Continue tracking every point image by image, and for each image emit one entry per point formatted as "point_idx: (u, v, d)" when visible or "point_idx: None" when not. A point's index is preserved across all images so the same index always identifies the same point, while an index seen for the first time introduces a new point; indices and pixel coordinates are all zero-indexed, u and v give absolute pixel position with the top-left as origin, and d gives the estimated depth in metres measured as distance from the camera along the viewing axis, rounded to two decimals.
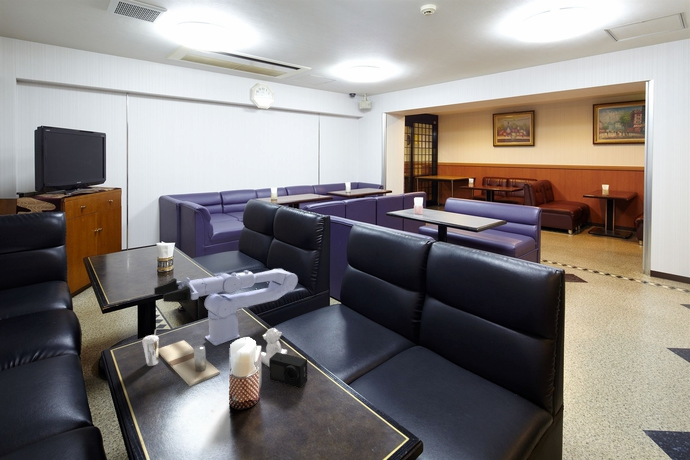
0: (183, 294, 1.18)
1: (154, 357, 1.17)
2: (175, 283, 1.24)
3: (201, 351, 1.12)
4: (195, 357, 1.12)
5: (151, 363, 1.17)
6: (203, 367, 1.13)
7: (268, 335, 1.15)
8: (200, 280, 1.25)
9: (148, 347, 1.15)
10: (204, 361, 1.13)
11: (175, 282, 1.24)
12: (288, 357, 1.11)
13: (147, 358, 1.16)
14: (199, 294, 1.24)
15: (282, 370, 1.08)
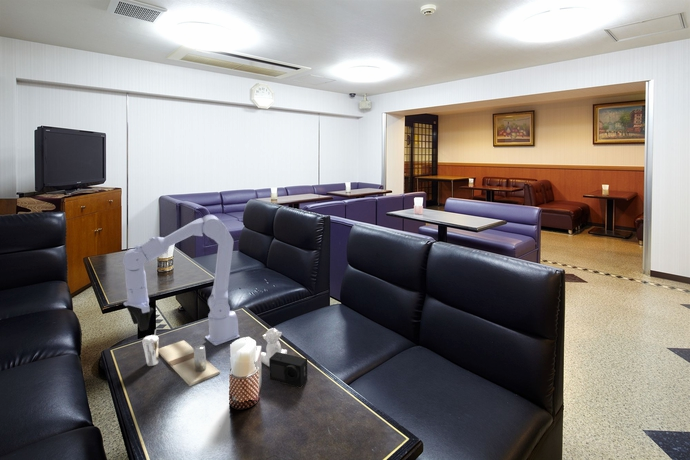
0: (141, 314, 1.18)
1: (154, 357, 1.17)
2: (130, 306, 1.22)
3: (201, 351, 1.12)
4: (195, 357, 1.12)
5: (151, 363, 1.17)
6: (203, 367, 1.13)
7: (268, 335, 1.15)
8: (128, 292, 1.17)
9: (148, 347, 1.15)
10: (204, 361, 1.13)
11: (129, 306, 1.22)
12: (288, 356, 1.11)
13: (147, 358, 1.16)
14: (144, 293, 1.19)
15: (282, 370, 1.09)
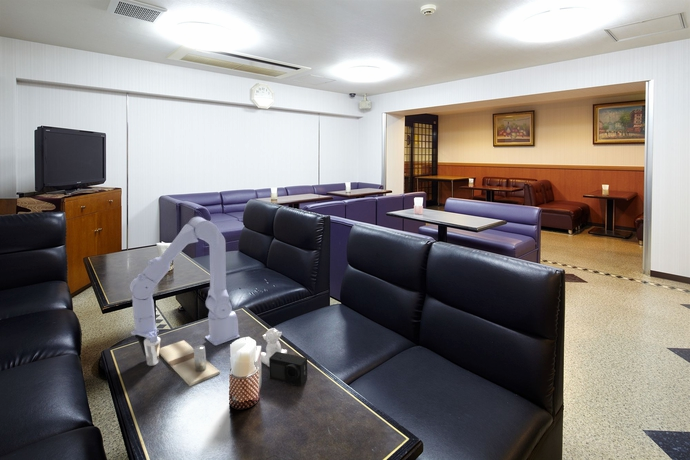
0: None
1: (155, 357, 1.16)
2: None
3: (201, 351, 1.12)
4: (195, 357, 1.12)
5: (151, 363, 1.16)
6: (203, 367, 1.13)
7: (268, 335, 1.15)
8: (136, 321, 1.15)
9: (150, 349, 1.14)
10: (204, 361, 1.13)
11: None
12: (288, 356, 1.11)
13: (148, 358, 1.16)
14: (152, 321, 1.17)
15: (282, 369, 1.09)
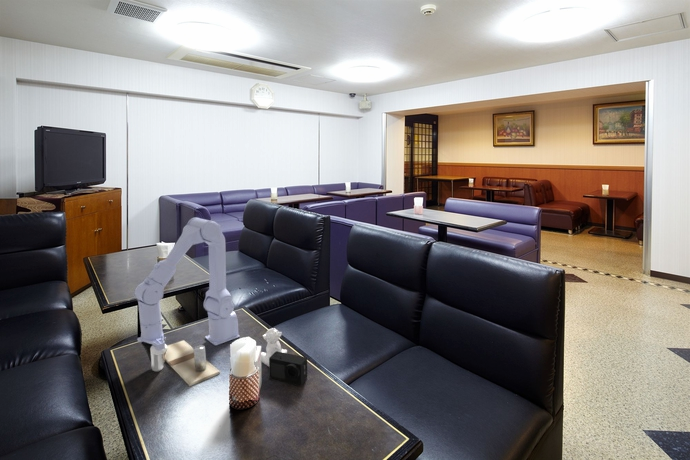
0: None
1: (160, 364, 1.13)
2: None
3: (201, 351, 1.12)
4: (195, 357, 1.12)
5: (156, 369, 1.13)
6: (203, 367, 1.13)
7: (268, 335, 1.15)
8: (142, 327, 1.11)
9: (156, 357, 1.10)
10: (204, 361, 1.13)
11: None
12: (288, 355, 1.11)
13: (153, 365, 1.12)
14: (159, 328, 1.13)
15: (282, 369, 1.09)
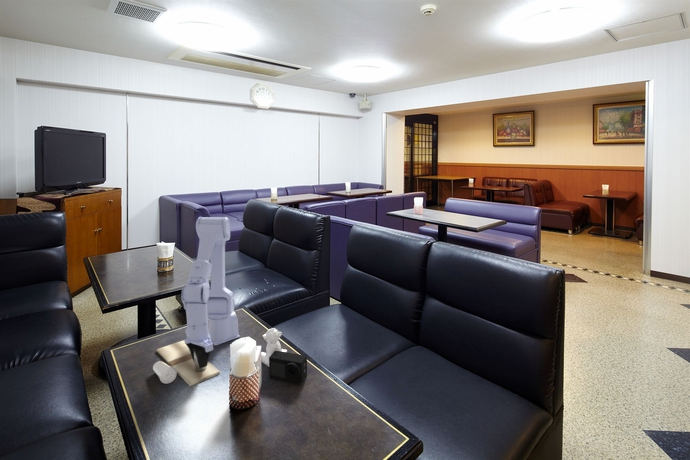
0: None
1: None
2: (191, 344, 1.13)
3: None
4: (195, 357, 1.12)
5: None
6: (203, 367, 1.13)
7: (268, 335, 1.15)
8: (189, 328, 1.09)
9: None
10: None
11: (190, 344, 1.13)
12: (287, 354, 1.12)
13: (156, 373, 1.11)
14: (206, 329, 1.11)
15: (282, 368, 1.10)
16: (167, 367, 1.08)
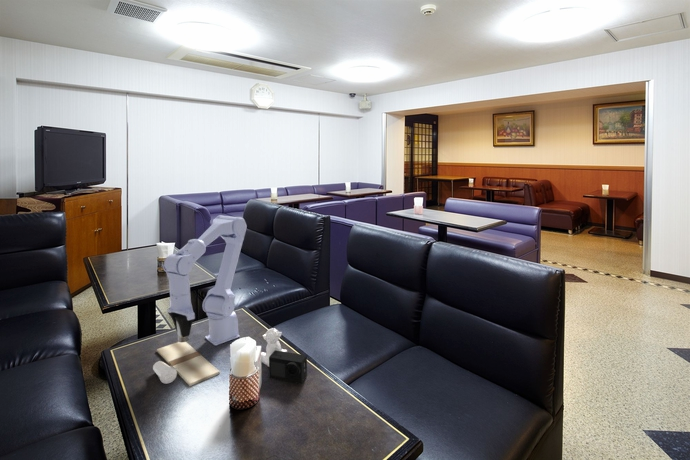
0: (184, 319, 1.15)
1: None
2: (174, 314, 1.17)
3: None
4: (177, 328, 1.16)
5: None
6: (185, 338, 1.17)
7: (268, 335, 1.15)
8: (172, 298, 1.13)
9: None
10: None
11: (173, 314, 1.17)
12: (287, 354, 1.12)
13: (156, 373, 1.11)
14: (188, 299, 1.15)
15: (282, 367, 1.10)
16: (167, 367, 1.08)
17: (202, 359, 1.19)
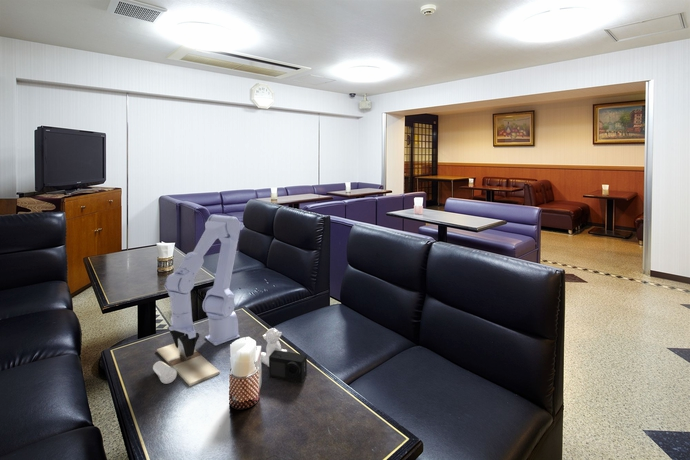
0: (187, 339, 1.15)
1: None
2: (173, 329, 1.20)
3: None
4: (179, 347, 1.18)
5: None
6: None
7: (268, 335, 1.15)
8: (173, 316, 1.14)
9: None
10: None
11: None
12: (287, 353, 1.12)
13: (156, 373, 1.11)
14: (189, 317, 1.16)
15: (282, 367, 1.10)
16: (167, 367, 1.08)
17: (202, 359, 1.19)
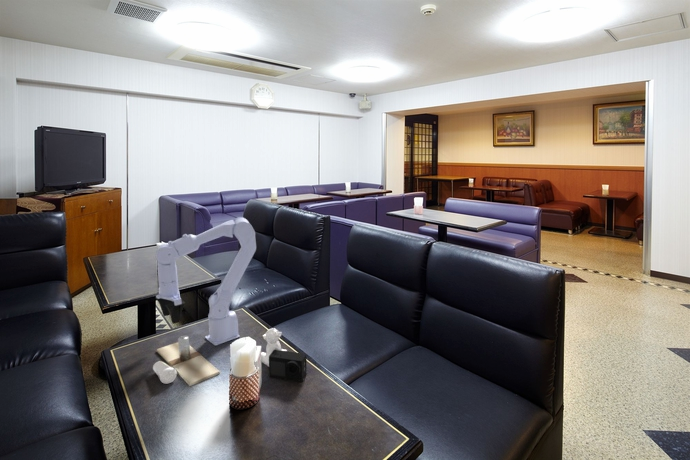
0: (174, 307, 1.23)
1: None
2: (161, 298, 1.27)
3: (185, 341, 1.17)
4: (179, 347, 1.18)
5: None
6: (187, 356, 1.19)
7: (268, 335, 1.15)
8: (160, 285, 1.22)
9: None
10: (188, 351, 1.19)
11: (160, 299, 1.27)
12: (287, 353, 1.13)
13: (156, 373, 1.11)
14: (176, 286, 1.24)
15: (282, 366, 1.10)
16: (167, 367, 1.08)
17: (202, 359, 1.19)
